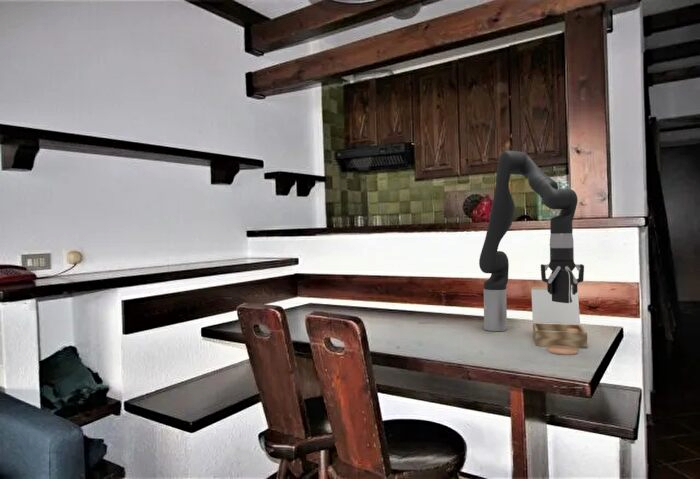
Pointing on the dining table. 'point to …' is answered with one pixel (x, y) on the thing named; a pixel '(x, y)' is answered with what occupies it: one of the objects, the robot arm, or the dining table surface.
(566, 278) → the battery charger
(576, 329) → the peach rounded capsule
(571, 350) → the saucer
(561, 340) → the wooden box
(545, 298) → the lid
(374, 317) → the dining table surface
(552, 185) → the robot arm
